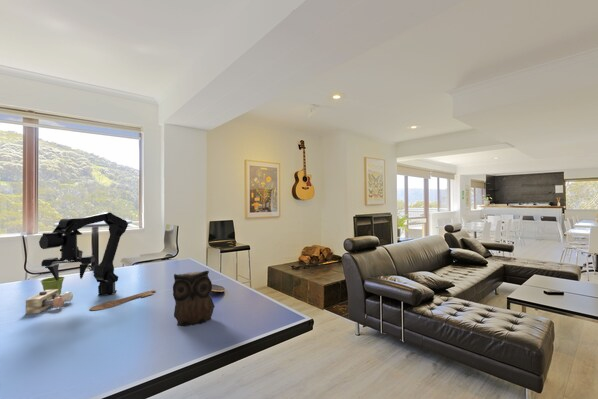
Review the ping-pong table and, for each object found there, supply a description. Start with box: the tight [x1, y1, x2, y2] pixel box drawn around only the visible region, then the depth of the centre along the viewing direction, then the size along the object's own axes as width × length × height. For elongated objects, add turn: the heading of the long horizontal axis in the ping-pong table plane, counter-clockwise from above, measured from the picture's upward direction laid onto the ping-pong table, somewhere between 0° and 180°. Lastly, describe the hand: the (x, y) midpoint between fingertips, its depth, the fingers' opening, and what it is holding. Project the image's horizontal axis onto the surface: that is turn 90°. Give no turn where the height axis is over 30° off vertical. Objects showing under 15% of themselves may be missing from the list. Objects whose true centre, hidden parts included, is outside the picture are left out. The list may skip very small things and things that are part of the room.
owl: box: [172, 270, 215, 328], centre depth 112 cm, size 13×13×20 cm
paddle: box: [88, 289, 157, 312], centre depth 137 cm, size 8×30×2 cm, turn 148°
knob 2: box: [52, 291, 74, 303], centre depth 134 cm, size 7×4×4 cm, turn 103°
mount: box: [25, 289, 59, 315], centre depth 129 cm, size 5×14×7 cm, turn 13°
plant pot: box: [39, 276, 65, 295], centre depth 145 cm, size 9×9×9 cm
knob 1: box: [42, 297, 66, 308], centre depth 127 cm, size 7×4×4 cm, turn 103°
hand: (69, 279), depth 130 cm, fingers open, 9 cm apart
